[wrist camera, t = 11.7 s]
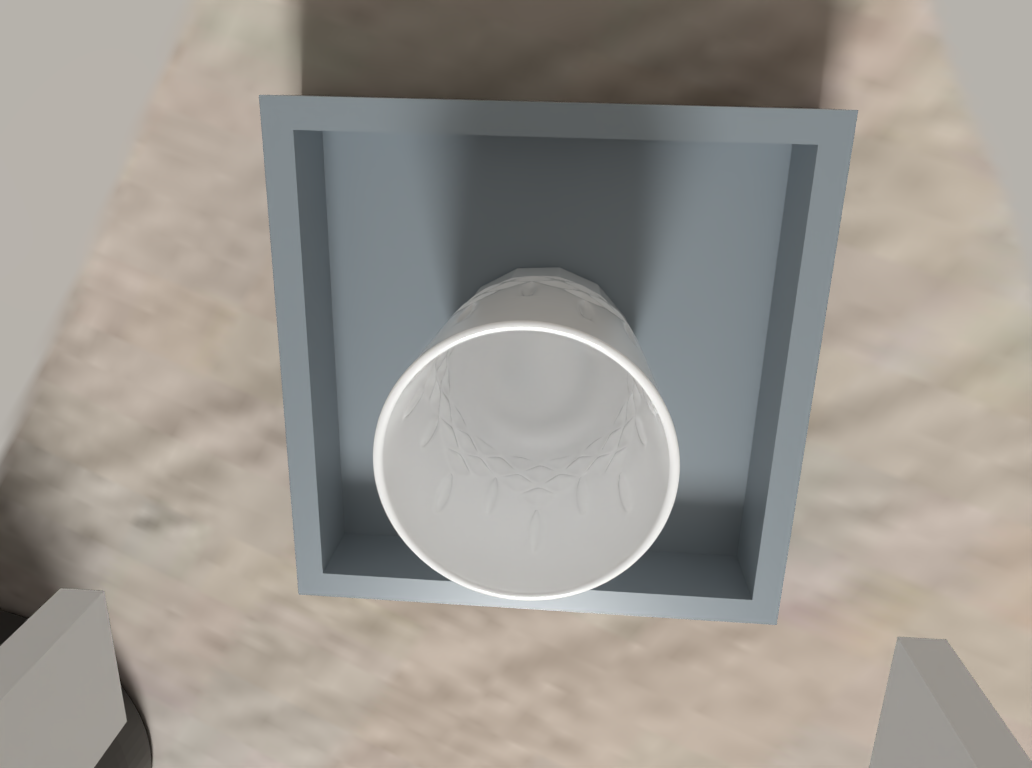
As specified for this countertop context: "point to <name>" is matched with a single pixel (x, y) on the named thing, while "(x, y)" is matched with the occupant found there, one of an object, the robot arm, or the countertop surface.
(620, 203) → the bin
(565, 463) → the white cup
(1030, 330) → the countertop surface
